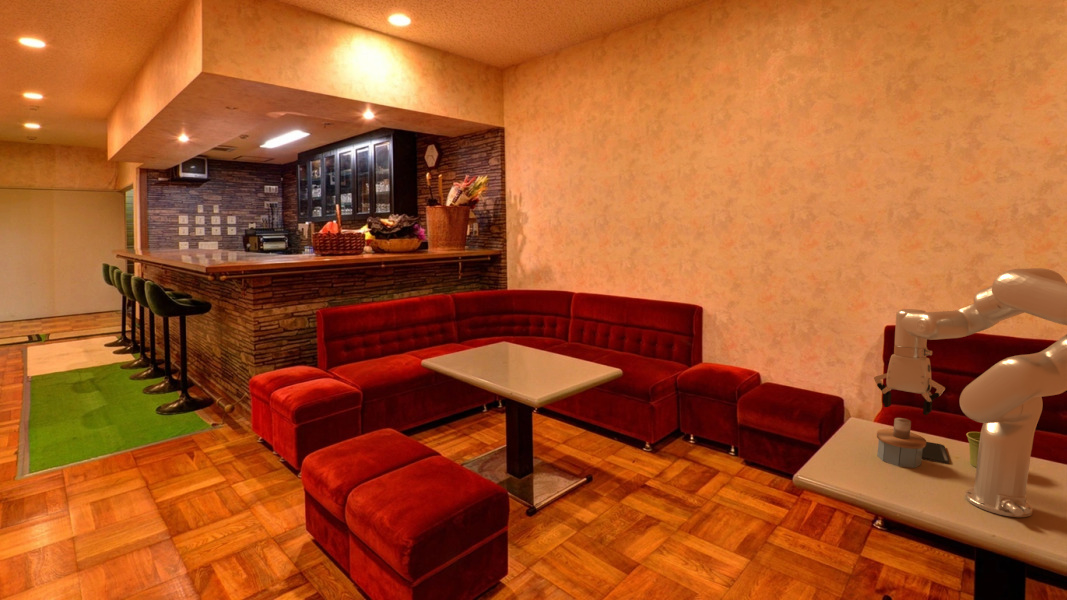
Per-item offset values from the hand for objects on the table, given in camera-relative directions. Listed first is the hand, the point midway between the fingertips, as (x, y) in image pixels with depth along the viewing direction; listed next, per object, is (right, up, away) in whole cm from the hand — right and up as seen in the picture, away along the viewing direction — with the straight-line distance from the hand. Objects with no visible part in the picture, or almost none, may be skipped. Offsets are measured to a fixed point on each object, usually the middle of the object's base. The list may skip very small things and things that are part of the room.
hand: (906, 410), depth 155 cm
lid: (0, -9, +2) cm, 10 cm away
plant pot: (+21, -16, -1) cm, 27 cm away
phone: (+13, -15, +8) cm, 22 cm away
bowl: (0, -15, +3) cm, 16 cm away
